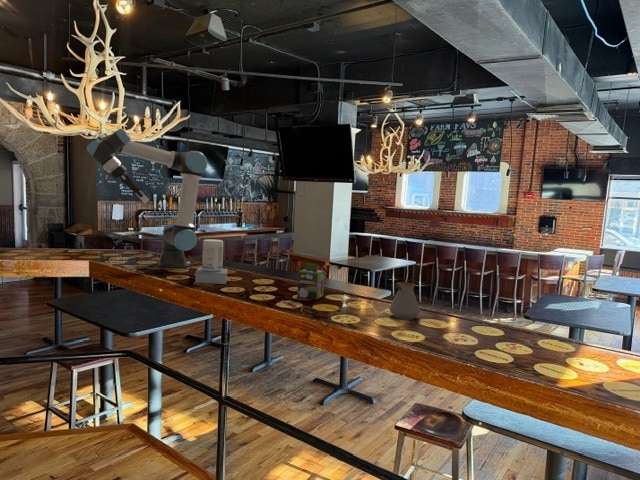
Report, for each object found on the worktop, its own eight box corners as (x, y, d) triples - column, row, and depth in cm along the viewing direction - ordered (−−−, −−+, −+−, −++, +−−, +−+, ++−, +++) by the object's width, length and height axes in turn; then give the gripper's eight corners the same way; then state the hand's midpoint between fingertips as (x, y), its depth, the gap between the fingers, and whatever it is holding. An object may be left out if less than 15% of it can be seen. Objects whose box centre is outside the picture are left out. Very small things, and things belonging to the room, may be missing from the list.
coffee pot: (393, 311, 173) (397, 274, 172) (422, 316, 168) (426, 278, 167) (375, 322, 154) (378, 280, 153) (407, 328, 149) (411, 285, 148)
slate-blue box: (197, 277, 218) (198, 267, 218) (226, 278, 221) (227, 268, 220) (194, 282, 203) (195, 272, 203) (226, 284, 206) (226, 273, 206)
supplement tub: (216, 268, 218) (218, 239, 217) (225, 271, 211) (227, 241, 210) (198, 269, 212) (199, 239, 211) (206, 272, 205) (208, 241, 204)
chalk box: (323, 296, 193) (325, 263, 192) (316, 300, 184) (319, 265, 183) (303, 293, 196) (306, 261, 195) (296, 297, 187) (298, 263, 186)
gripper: (111, 174, 224) (142, 206, 231) (106, 172, 201) (140, 207, 207) (123, 165, 226) (153, 196, 232) (119, 161, 202) (153, 196, 209)
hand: (147, 201), depth 220 cm, fingers open, 13 cm apart
